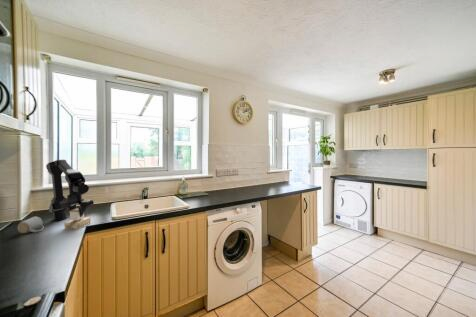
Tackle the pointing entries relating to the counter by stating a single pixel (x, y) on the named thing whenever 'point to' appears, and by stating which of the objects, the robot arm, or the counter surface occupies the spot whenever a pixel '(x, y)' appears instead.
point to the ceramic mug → (30, 225)
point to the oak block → (77, 223)
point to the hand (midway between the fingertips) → (77, 216)
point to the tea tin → (75, 214)
